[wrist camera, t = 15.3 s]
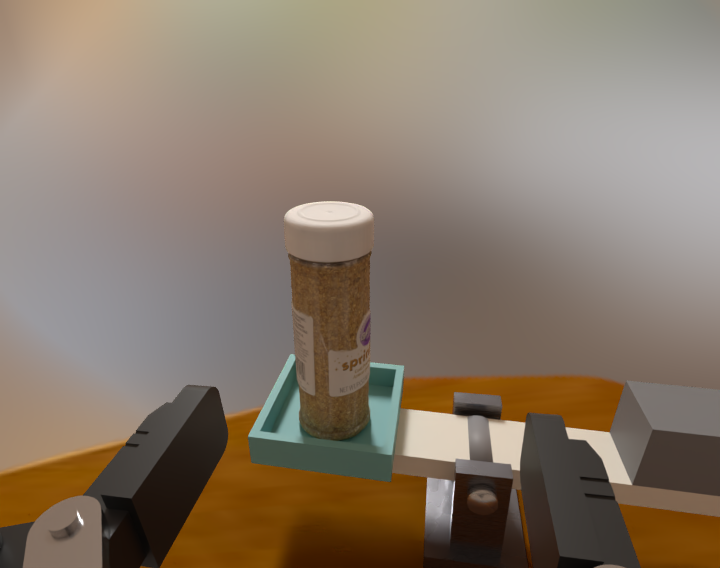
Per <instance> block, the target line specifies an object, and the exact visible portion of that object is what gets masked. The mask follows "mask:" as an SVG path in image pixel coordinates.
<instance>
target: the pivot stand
mask: <svg viewBox="0 0 720 568" xmlns="http://www.w3.org/2000/svg"><path fill="white" fill-rule="evenodd" d="M501 410H502V403H501V396H494V395H482V394H470V393H457V392H454V401H453V415H461V416H473V415H479V416H483V417H485V418H488V419H496V420H500V417H501ZM512 484H513V474H512V467H511V464H504V463H494V462H484V461H475V460H465V459H455V471H454V481H451V480H443V479H436V478H429V477H427V497H426V518H425V540H424V562H423V567H425V568H528V563H527V557H526V550H525V544H524V538H523V531H522V525H521V519H520V512H519V506H518V500H517V493H516V489H512Z"/></svg>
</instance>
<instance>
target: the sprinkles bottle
mask: <svg viewBox="0 0 720 568" xmlns="http://www.w3.org/2000/svg"><path fill="white" fill-rule="evenodd" d="M284 234H285V247H286V250H287V251H288V252H289V254H288V257H289V259H290V265H291V287H292V297H293V298H292V316H293V329H294V344H295V360H296V374H297V381H298V384H299V395H300V410H299V421H300V424H301V426H302V428H303V429H304V430H305V431H306V432H307V433H308V434H309V435H311V436H313V437H315V438H318V439H325V440H333V441H338V440H344V439H349V438H351V437H354V436H356V435H357V434H359V433H360V432H361V431H362V430H363V429H364V428H365V427H366V426H367V424H368V422H369V420H370V407H369V397H368V392H369V375H370V309H369V300H370V297H369V293H370V286H369V275H370V256H371V250H372V248H373V245H374V218H373V214H372V213H371V211H370V210H368V209H367V208H365V207H363V206H360V205H357V204H353V203H347V202H332V201H328V202H314V203H307V204H304V205H300V206H297V207H294V208H293V209H291V210H289V211H288V212H287V213H286V215H285V217H284Z"/></svg>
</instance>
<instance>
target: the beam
mask: <svg viewBox="0 0 720 568" xmlns="http://www.w3.org/2000/svg"><path fill="white" fill-rule="evenodd" d="M403 379H404V366H400V365H391V364H381V363H372V362H370V375H369V392H368V397H369V407H370V420H369V422H368V424H367V426H366V427H365V428H364V429H363V430H362V431H361V432H360V433H359V434H357V435H356V436H354V437H351V438H349V439H344V440H338V441H333V440H325V439H318V438H315V437H313V436H311V435H309V434H308V433H307V432H306V431H305V430H304V429H303V428H302V426H301V424H300V421H299V410H300V395H299V384H298V381H297V374H296V360H295V355H293V354H291V355H290V357H289V358H288V360H287V362H286V364H285V366H284V368H283V370H282V372H281V374H280V376H279V378H278V380H277V382H276V383H275V386H274V387H273V389H272V391H271V393H270V395H269V397H268V399H267V401H266V403H265V405H264V407H263V409H262V410H261V412H260V414H259V416H258V418H257V420H256V422H255V424H254V426H253V428H252V430H251V432H250V434H249V436H248V440H249V448H250V455H251V462H252V463H257V464H264V465H271V466H278V467H286V468H293V469H300V470H307V471H315V472H322V473H329V474H336V475H344V476H351V477H358V478H365V479H373V480H380V481H387V482H391V476H392V473H399V474H406V475H414V476H421V477H429V478H436V479H443V480H451V481H454V471H455V459H465V460H475V461H484V462H494V463H504V464H511V467H512V474H513V484H512V489H517V490H521V483H520V458H521V451H522V444H523V437H524V430H525V423H522V422H514V421H505V420H496V419H488V418H485V417H483V416H479V415H473V416H461V415H453V414H444V413H435V412H427V411H418V410H409V409H400V408H401V400H402V392H403ZM565 428H566V427H565ZM566 431H567V435H568V438H569V439H576V440H586V441H587V442H588V443H589V444H590V446H591V447H592V448H593V449H594V450H595V451H596V453H597V454H598V455H599V456H600V457H601V458H602V460H603V463H604V466H605V469H606V472H607V475H608V477H609V483H611V486H612V489H613V491H614V494H615V500H616V501H617V503H621V504H629V505H636V506H643V507H651V508H658V509H666V510H673V511H680V512H688V513H695V514H703V515H710V516H717V517H720V390H716V389H706V388H695V387H686V386H676V385H665V384H655V383H645V382H635V381H626V383H625V386H624V389H623V392H622V395H621V398H620V402H619V405H618V408H617V411H616V414H615V417H614V420H613V424H612V427H611V430H610V432H601V431H592V430H583V429H575V428H566Z"/></svg>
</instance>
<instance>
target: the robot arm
mask: <svg viewBox="0 0 720 568" xmlns="http://www.w3.org/2000/svg"><path fill="white" fill-rule="evenodd" d="M227 440H228V429H227V424H226V420H225V416H224V411H223V407H222V403H221V399H220V395H219V391H218V389H217V388H216V387H209V386H196V385H187V386H185V387H184V388H183V389H182V391H181V392H180V393H179V394H178V396H177V397H176V398H175V400H174V401H173V402H172V403H165V404H164V405H162V406H161V407H159V408H158V409H157V410H155V411H154V412H153V413H151V414H150V415H148V417H147V418H146V419H145V420H144V421H143V423H142V424H141V425H140V426H139V428H138V429H137V430H136V433H135V434H133V435H132V436H131V437H130V438H129V440H128V441H127V442H126V446H123V447H122V448H121V449H120V451H119V452H118V453H117V454H116V456H115V457H114V458H113V459H112V460H111V462H110V463H109V464H108V465H107V467H106V468H105V469H104V470H103V471H102V473H101V474H100V475H99V476H98V478H97V479H96V480H95V481H94V482H93V484H92V485H91V486H90V487H89V489H88V490H87V491H86V492H85V493H84V494H83V496H76V497H72V498H69V499H66V500H63V501H61V502H59V503H57V504H55V505H54V506H52V507H51V508H49V509H48V510H47V511H45V512H44V513H43V514H42V515H41V516H40V517H39V518H38V519H37V520H36V521H35V522H30V523H25V524H19V525H13V526H7V527H2V528H0V568H140V566H145V567H152V568H159V567H160V566H161V564H162V562H163V560H164V559H165V557H166V555H167V553H168V551H169V550H170V548H171V546H172V544H173V542H174V541H175V539H176V537H177V535H178V534H179V532H180V530H181V528H182V526H183V525H184V523H185V521H186V519H187V517H188V516H189V514H190V512H191V510H192V509H193V507H194V505H195V503H196V501H197V500H198V498H199V496H200V494H201V492H202V491H203V489H204V487H205V485H206V484H207V482H208V480H209V478H210V476H211V475H212V473H213V471H214V469H215V467H216V466H217V464H218V462H219V460H220V459H221V457H222V455H223V453H224V451H225V448H226V445H227ZM520 483H521V490H522V497H523V503H524V510H525V517H526V523H527V530H528V536H529V543H530V550H531V556H532V563H533V568H641V567H640V564H639V562H638V559H637V556H636V553H635V550H634V548H633V545H632V542H631V539H630V536H629V533H628V531H627V528H626V525H625V522H624V519H623V517H622V514H621V511H620V508H619V505H618V503H617V501H616V500H615V494H614V491H613V489H612V486H611V483H609V477H608V475H607V472H606V469H605V466H604V463H603V460H602V458H601V457H600V456H599V455H598V454H597V453H596V451H595V450H594V449H593V448H592V447H591V446H590V444H589V443H588V442H587V441H586V440H576V439H569V438H568V435H567V431H566V428H565V424H564V421H563V418H562V417H561V416H560V415H549V414H537V413H528V414H527V417H526V423H525V430H524V437H523V444H522V451H521V458H520Z"/></svg>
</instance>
